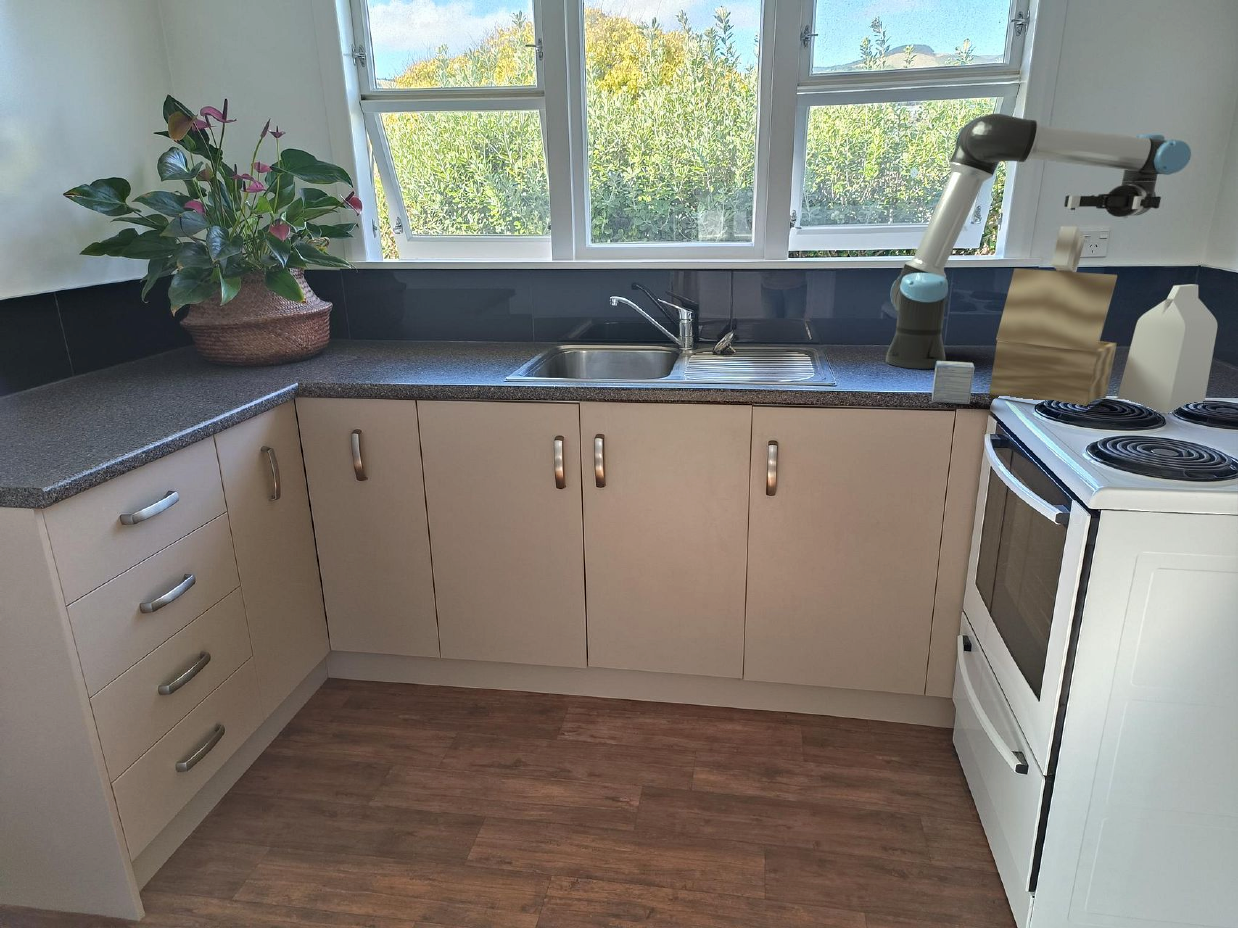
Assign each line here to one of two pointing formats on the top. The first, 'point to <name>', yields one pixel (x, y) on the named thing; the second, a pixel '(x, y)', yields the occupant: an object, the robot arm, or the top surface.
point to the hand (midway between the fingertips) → (1101, 202)
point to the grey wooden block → (953, 382)
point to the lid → (1058, 301)
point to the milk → (1171, 353)
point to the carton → (1051, 372)
